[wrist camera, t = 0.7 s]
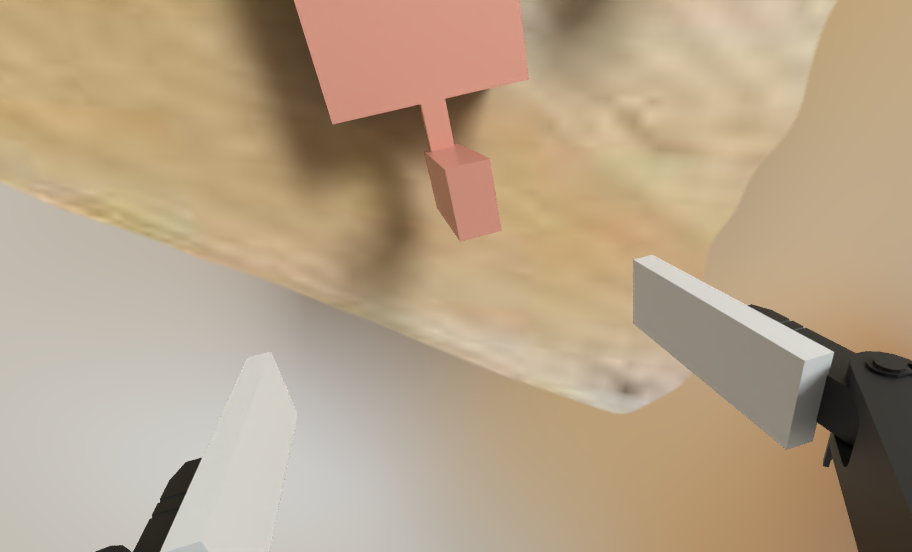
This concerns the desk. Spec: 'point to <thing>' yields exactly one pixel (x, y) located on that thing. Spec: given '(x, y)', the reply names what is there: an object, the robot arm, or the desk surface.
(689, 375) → the desk surface
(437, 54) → the lid
